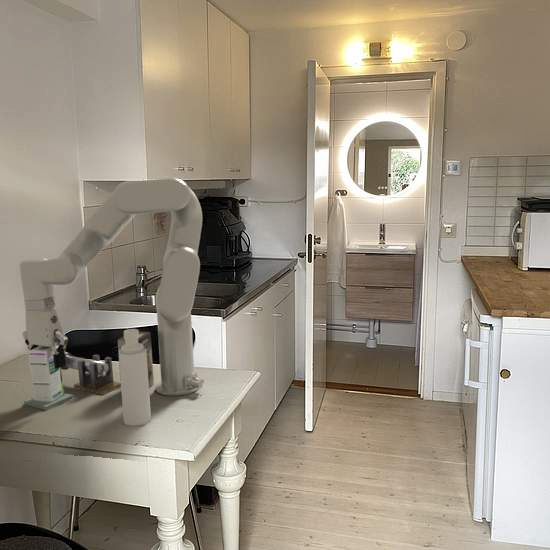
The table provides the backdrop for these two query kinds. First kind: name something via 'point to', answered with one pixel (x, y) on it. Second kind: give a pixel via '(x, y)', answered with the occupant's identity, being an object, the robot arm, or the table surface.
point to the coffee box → (146, 341)
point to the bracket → (96, 377)
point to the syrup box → (45, 375)
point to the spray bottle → (134, 380)
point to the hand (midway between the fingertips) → (48, 364)
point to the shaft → (73, 364)
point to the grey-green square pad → (48, 405)
